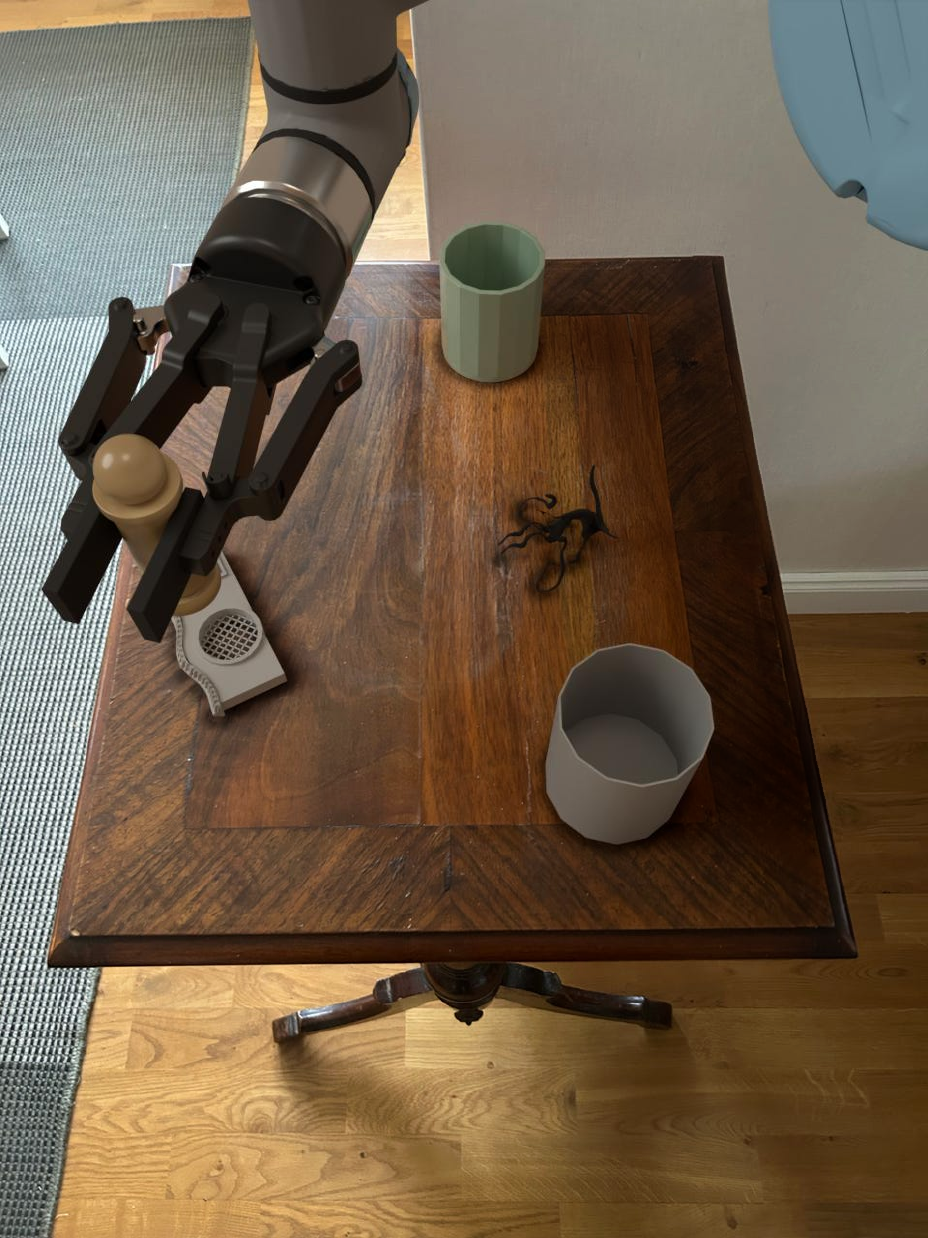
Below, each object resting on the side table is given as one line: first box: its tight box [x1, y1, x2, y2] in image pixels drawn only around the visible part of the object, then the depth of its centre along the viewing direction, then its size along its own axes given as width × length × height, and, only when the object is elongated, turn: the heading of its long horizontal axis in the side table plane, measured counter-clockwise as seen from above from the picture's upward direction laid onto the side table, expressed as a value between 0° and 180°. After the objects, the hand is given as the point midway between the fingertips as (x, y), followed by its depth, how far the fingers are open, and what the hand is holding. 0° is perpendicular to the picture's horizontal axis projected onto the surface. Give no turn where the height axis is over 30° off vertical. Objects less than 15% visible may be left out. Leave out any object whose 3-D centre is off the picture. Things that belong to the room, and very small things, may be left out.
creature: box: [497, 464, 619, 593], centre depth 69 cm, size 8×5×8 cm
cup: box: [545, 642, 715, 845], centre depth 59 cm, size 8×8×10 cm
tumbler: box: [438, 220, 546, 383], centre depth 77 cm, size 8×8×9 cm
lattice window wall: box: [171, 550, 288, 718], centre depth 67 cm, size 12×2×6 cm
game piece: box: [92, 434, 222, 616], centre depth 47 cm, size 4×4×11 cm
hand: (102, 616), depth 43 cm, fingers closed on game piece, 3 cm apart
